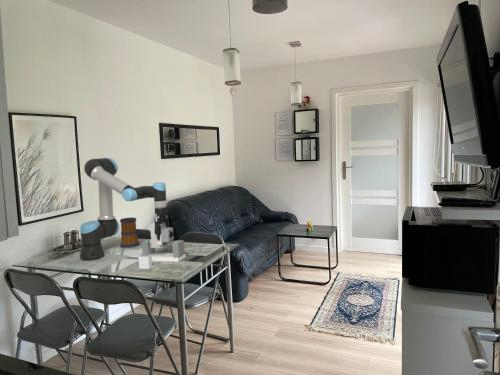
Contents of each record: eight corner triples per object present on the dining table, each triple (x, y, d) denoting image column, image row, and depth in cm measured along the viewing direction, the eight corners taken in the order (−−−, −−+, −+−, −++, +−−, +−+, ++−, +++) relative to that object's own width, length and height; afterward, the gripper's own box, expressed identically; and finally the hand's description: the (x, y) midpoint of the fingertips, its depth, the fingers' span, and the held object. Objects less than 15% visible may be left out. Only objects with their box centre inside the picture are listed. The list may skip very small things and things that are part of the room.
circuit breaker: (171, 247, 236) (170, 224, 235) (150, 247, 239) (148, 224, 238) (176, 244, 244) (174, 221, 242) (155, 244, 247) (154, 221, 245)
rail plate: (142, 260, 241) (140, 241, 239) (151, 255, 251) (149, 237, 250) (178, 261, 234) (176, 242, 233) (185, 256, 244) (184, 238, 243)
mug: (126, 242, 292) (124, 216, 290) (144, 241, 292) (143, 215, 290) (116, 248, 273) (114, 221, 271) (136, 247, 272) (134, 220, 271)
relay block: (139, 268, 223) (138, 256, 222) (142, 266, 228) (141, 253, 227) (149, 268, 222) (148, 255, 222) (152, 266, 227) (151, 253, 227)
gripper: (157, 209, 228) (160, 247, 230) (173, 204, 248) (176, 239, 250) (146, 209, 230) (149, 247, 233) (163, 204, 250) (165, 239, 252)
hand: (163, 242), depth 241 cm, fingers closed on circuit breaker, 8 cm apart
